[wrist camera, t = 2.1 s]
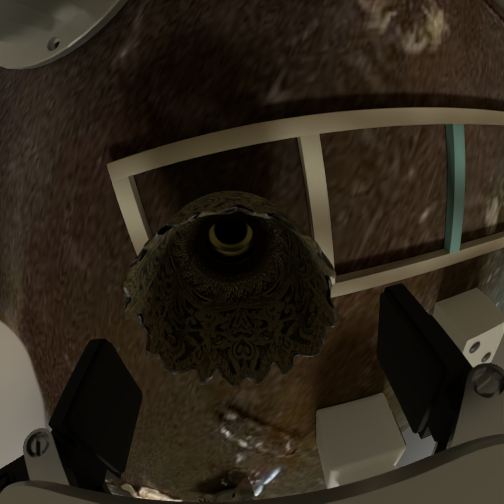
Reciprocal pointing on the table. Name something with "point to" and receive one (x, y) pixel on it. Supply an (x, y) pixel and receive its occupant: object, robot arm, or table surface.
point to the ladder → (315, 180)
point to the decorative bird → (235, 493)
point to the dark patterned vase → (231, 291)
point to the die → (471, 324)
